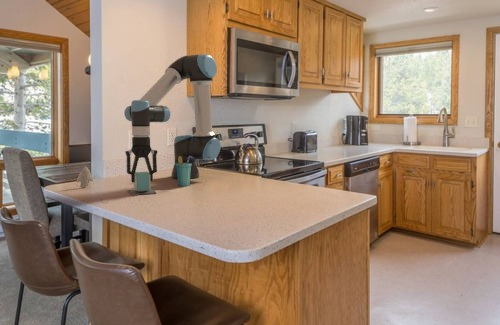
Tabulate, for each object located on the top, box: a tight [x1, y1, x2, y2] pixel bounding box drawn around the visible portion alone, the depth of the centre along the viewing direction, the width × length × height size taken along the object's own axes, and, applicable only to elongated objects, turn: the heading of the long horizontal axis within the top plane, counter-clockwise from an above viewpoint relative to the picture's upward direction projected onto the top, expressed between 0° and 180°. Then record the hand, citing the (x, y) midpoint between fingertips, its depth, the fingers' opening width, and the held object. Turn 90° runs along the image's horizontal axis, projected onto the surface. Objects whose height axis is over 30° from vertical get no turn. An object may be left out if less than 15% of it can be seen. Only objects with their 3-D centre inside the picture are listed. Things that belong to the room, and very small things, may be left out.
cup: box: [176, 156, 194, 187], centre depth 189 cm, size 14×8×15 cm, turn 46°
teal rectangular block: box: [135, 171, 150, 191], centre depth 172 cm, size 5×5×8 cm
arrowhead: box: [76, 166, 94, 189], centre depth 182 cm, size 8×3×10 cm, turn 139°
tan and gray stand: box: [128, 188, 157, 196], centre depth 172 cm, size 10×10×7 cm
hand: (142, 189), depth 172 cm, fingers closed on teal rectangular block, 5 cm apart
